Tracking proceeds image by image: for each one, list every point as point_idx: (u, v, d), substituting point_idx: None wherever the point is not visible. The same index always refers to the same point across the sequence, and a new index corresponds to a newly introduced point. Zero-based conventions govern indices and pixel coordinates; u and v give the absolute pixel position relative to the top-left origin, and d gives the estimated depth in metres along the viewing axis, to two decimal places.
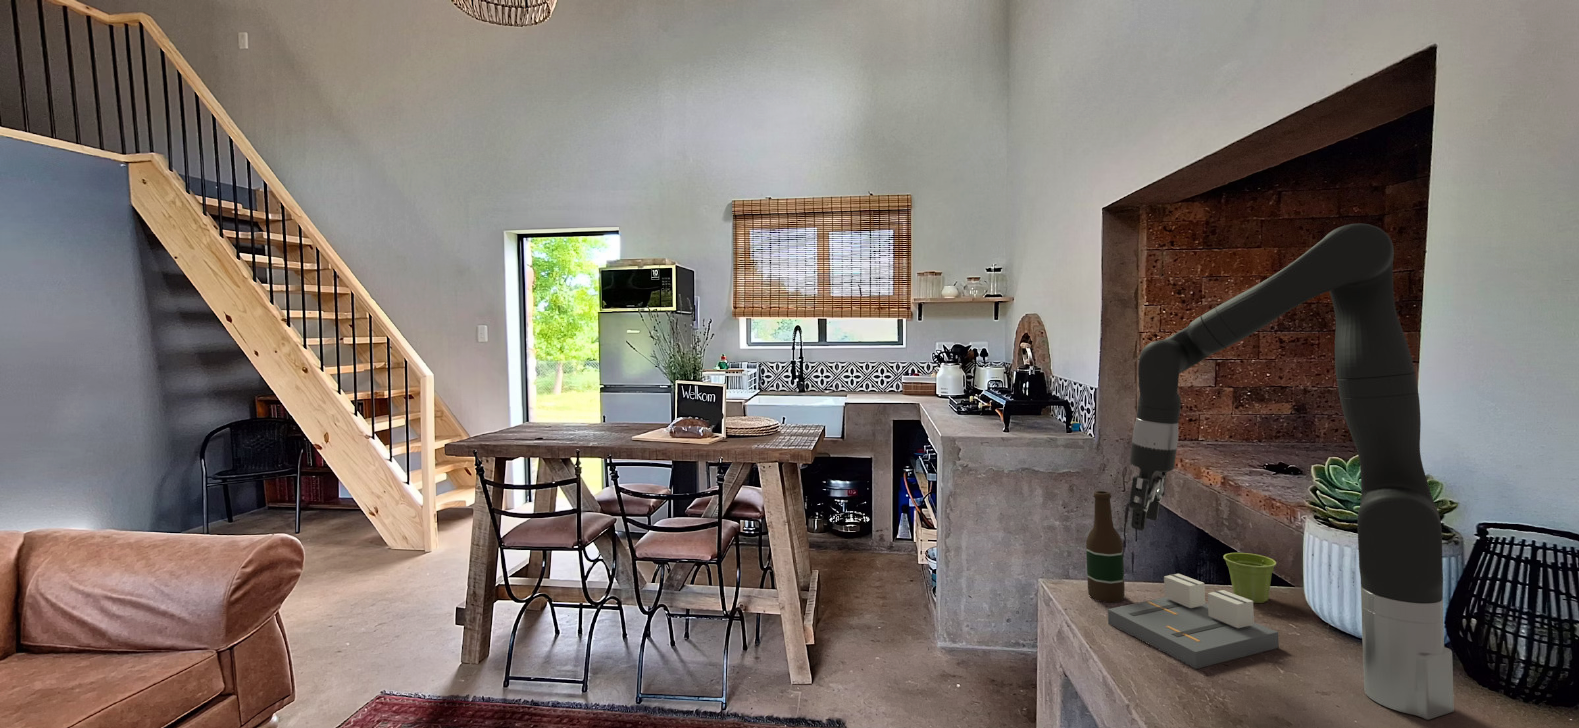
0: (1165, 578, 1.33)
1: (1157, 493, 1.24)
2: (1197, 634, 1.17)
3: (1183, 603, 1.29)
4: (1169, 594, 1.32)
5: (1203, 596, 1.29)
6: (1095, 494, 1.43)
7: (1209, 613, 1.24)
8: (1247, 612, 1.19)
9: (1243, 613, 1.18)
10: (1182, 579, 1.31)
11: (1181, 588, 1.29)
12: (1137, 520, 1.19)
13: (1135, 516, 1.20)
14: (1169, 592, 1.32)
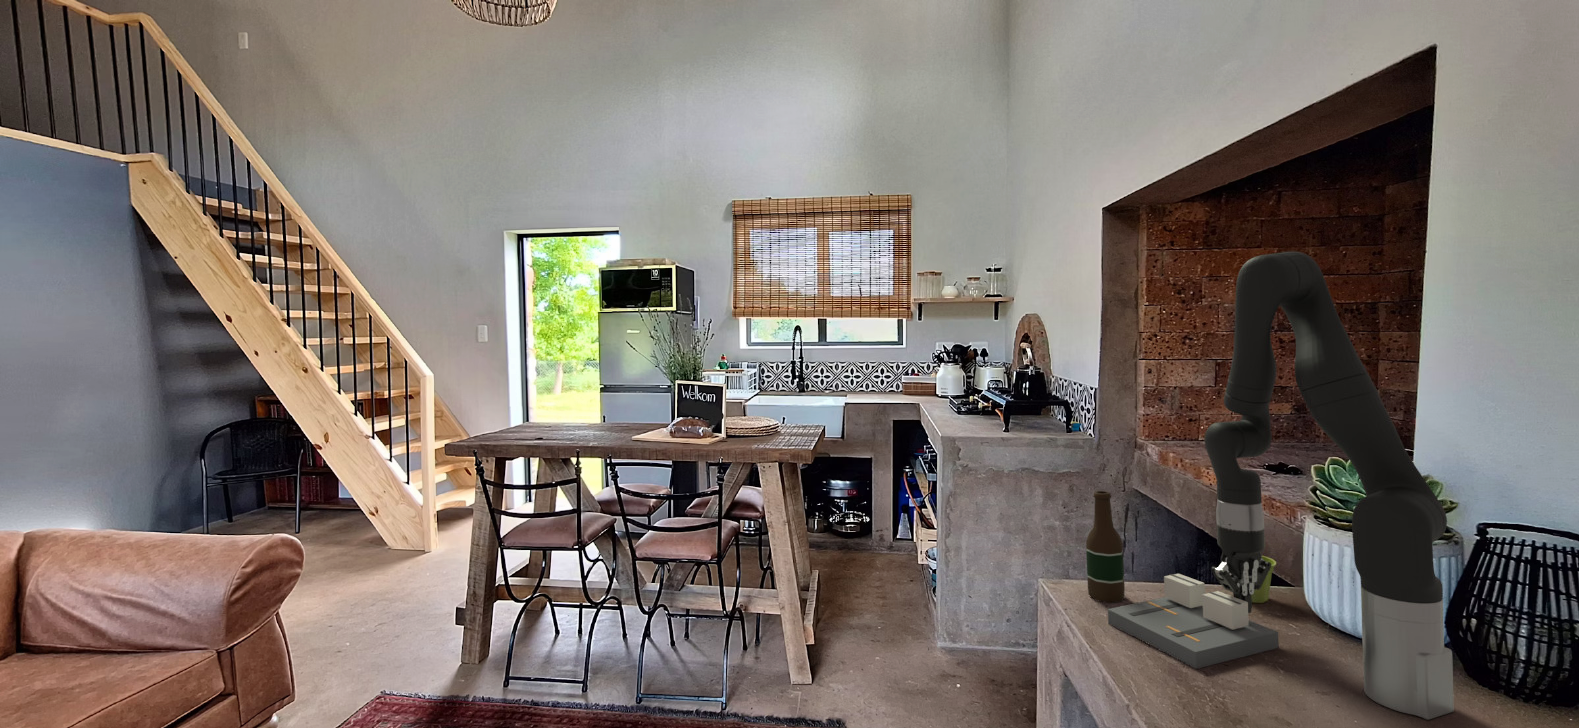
0: (1165, 578, 1.33)
1: None
2: (1197, 634, 1.17)
3: (1183, 603, 1.29)
4: (1169, 594, 1.32)
5: None
6: (1095, 494, 1.43)
7: (1204, 614, 1.23)
8: (1242, 613, 1.18)
9: (1237, 615, 1.18)
10: (1182, 579, 1.31)
11: (1181, 588, 1.29)
12: None
13: None
14: (1169, 592, 1.32)
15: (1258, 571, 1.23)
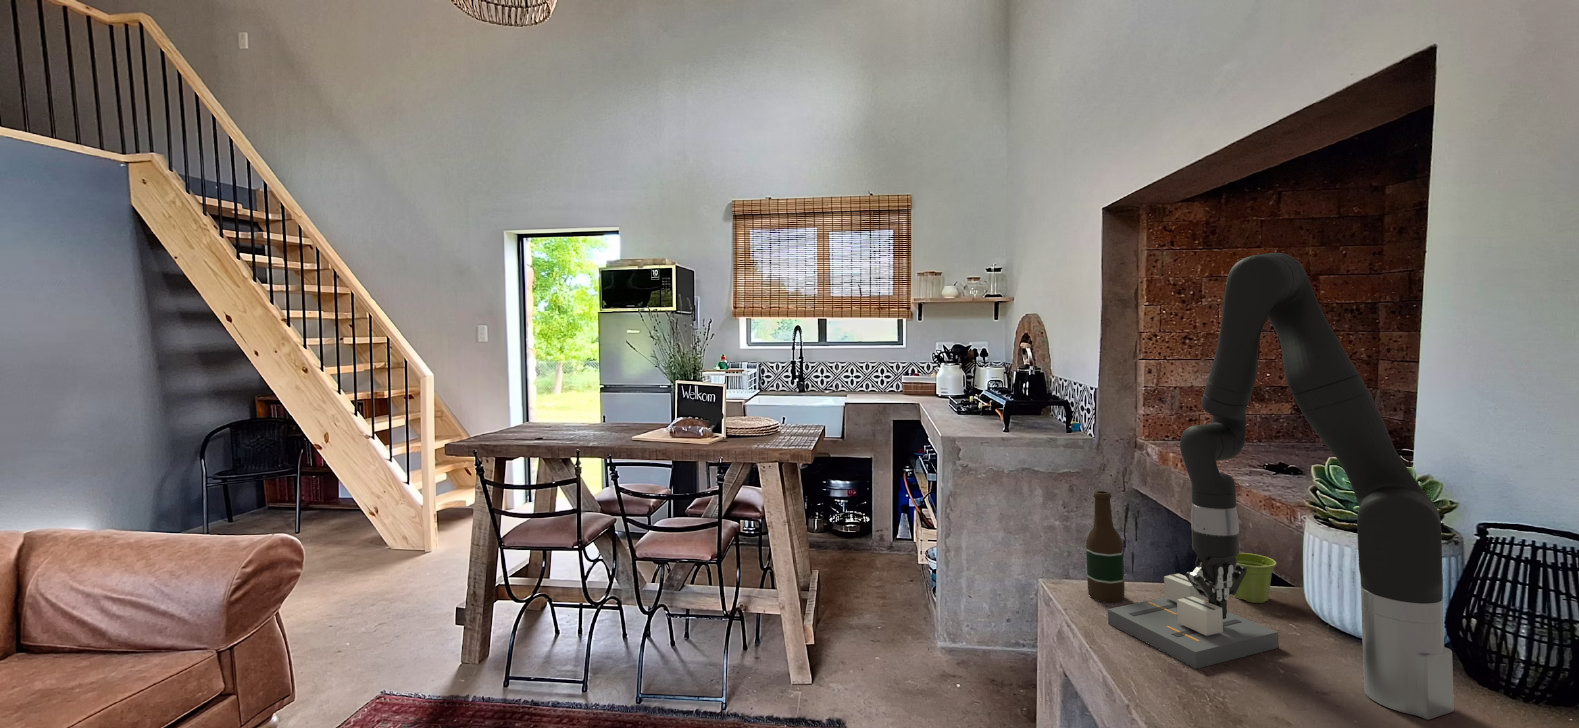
0: (1165, 578, 1.33)
1: (1223, 585, 1.20)
2: (1197, 634, 1.17)
3: None
4: (1169, 594, 1.32)
5: (1203, 596, 1.29)
6: (1095, 494, 1.43)
7: (1178, 620, 1.21)
8: (1216, 619, 1.16)
9: (1211, 620, 1.16)
10: (1182, 579, 1.31)
11: (1181, 588, 1.29)
12: None
13: None
14: (1169, 592, 1.32)
15: (1233, 576, 1.21)
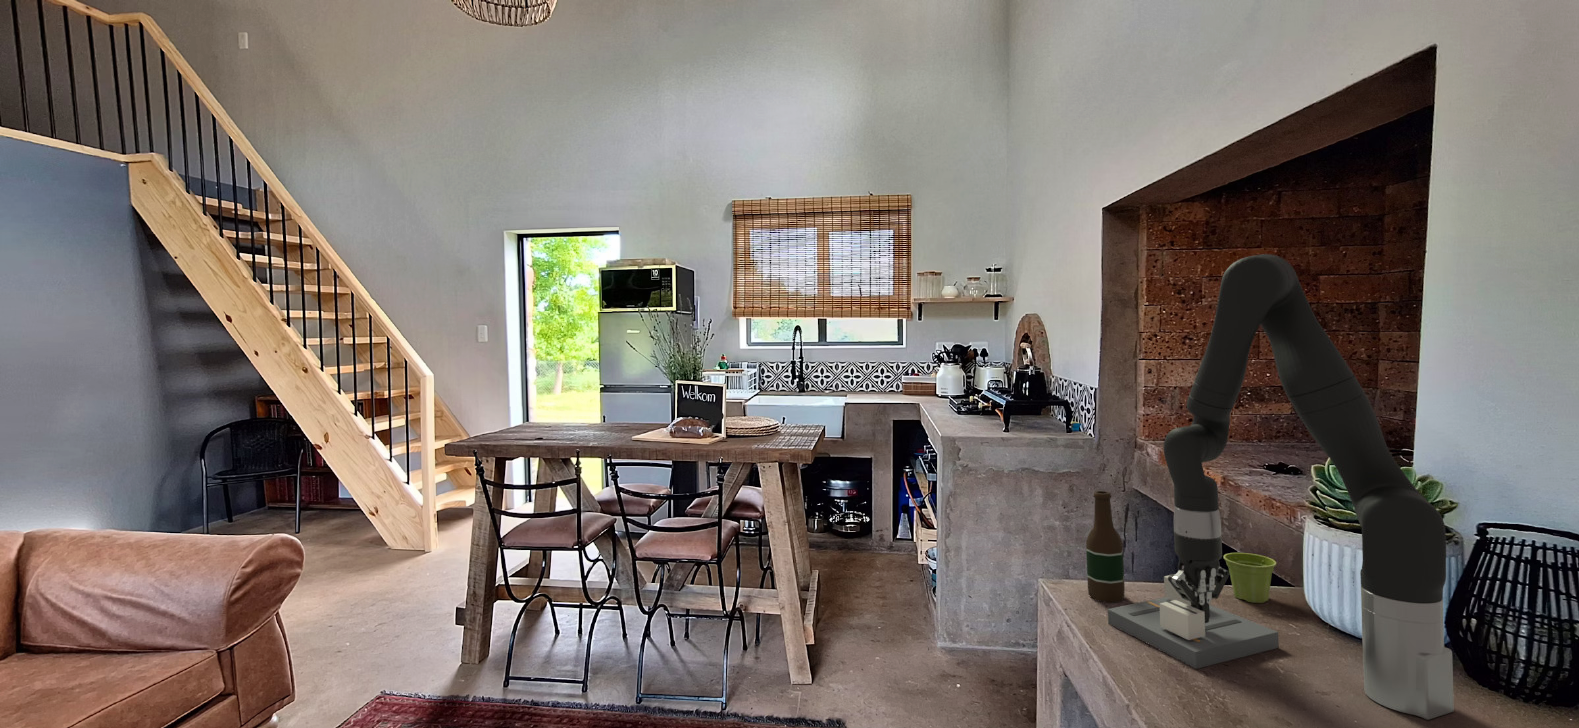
0: (1165, 578, 1.33)
1: None
2: None
3: None
4: (1169, 594, 1.32)
5: None
6: (1095, 494, 1.43)
7: (1161, 624, 1.20)
8: (1198, 623, 1.15)
9: (1193, 625, 1.15)
10: None
11: None
12: None
13: None
14: (1169, 592, 1.32)
15: (1216, 579, 1.20)
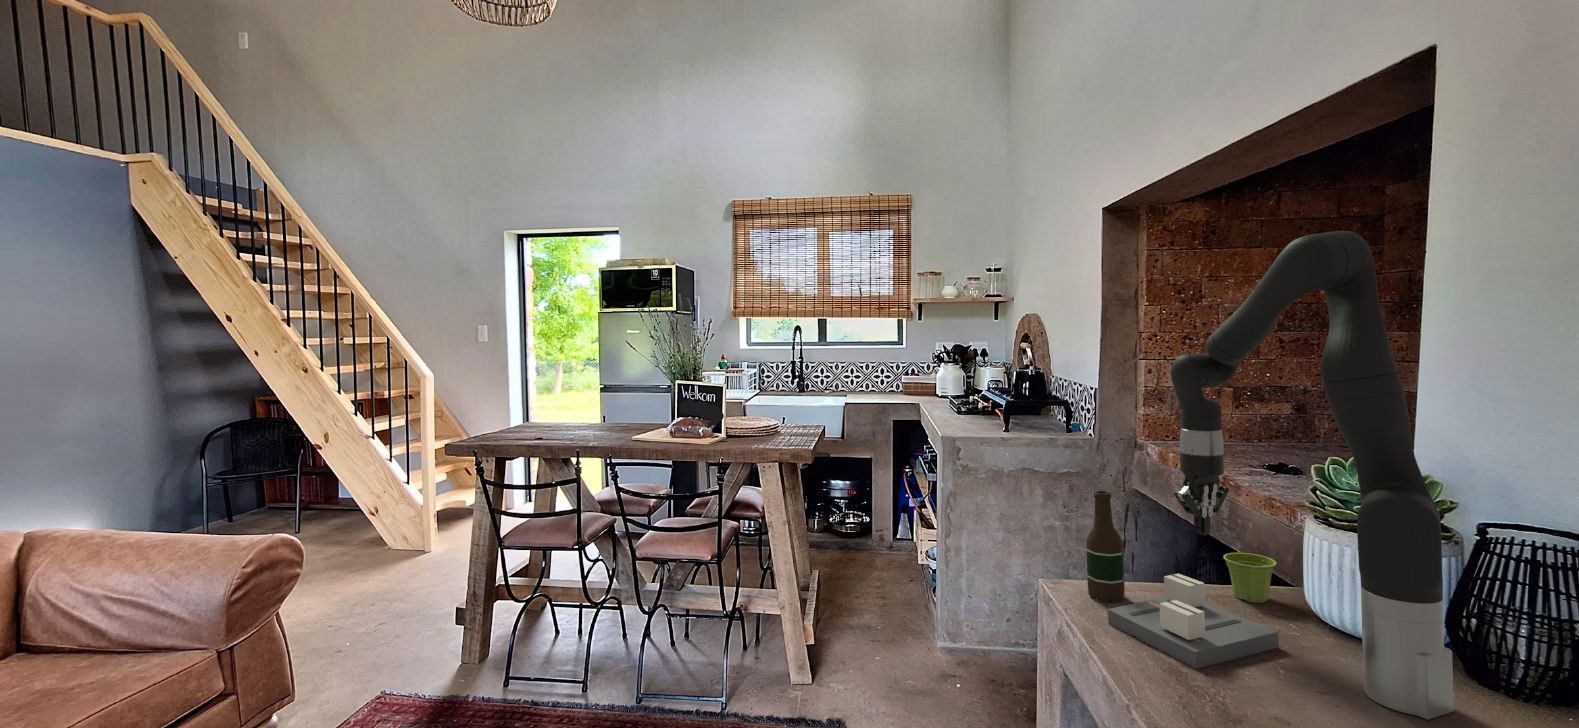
0: (1165, 578, 1.33)
1: None
2: None
3: None
4: (1169, 594, 1.32)
5: (1203, 596, 1.29)
6: (1095, 494, 1.43)
7: (1161, 624, 1.20)
8: (1198, 623, 1.15)
9: (1193, 625, 1.15)
10: (1182, 579, 1.31)
11: (1181, 588, 1.29)
12: (1197, 525, 1.29)
13: (1195, 522, 1.30)
14: (1169, 592, 1.32)
15: (1217, 496, 1.31)
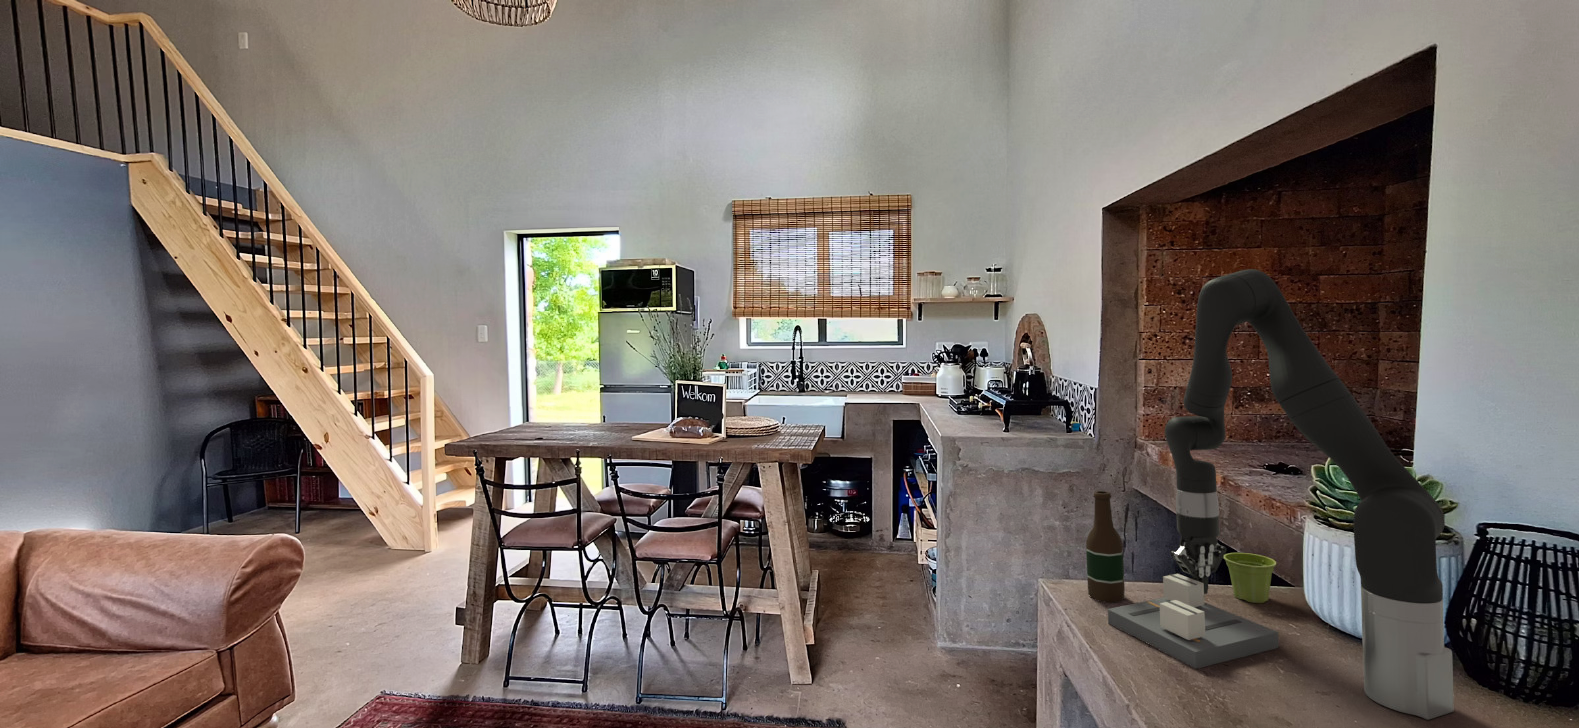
0: (1164, 578, 1.33)
1: None
2: None
3: None
4: (1168, 594, 1.32)
5: (1202, 596, 1.29)
6: (1095, 494, 1.43)
7: (1161, 624, 1.20)
8: (1198, 623, 1.15)
9: (1193, 625, 1.15)
10: (1181, 579, 1.31)
11: (1180, 588, 1.29)
12: None
13: None
14: (1168, 592, 1.32)
15: (1214, 555, 1.33)
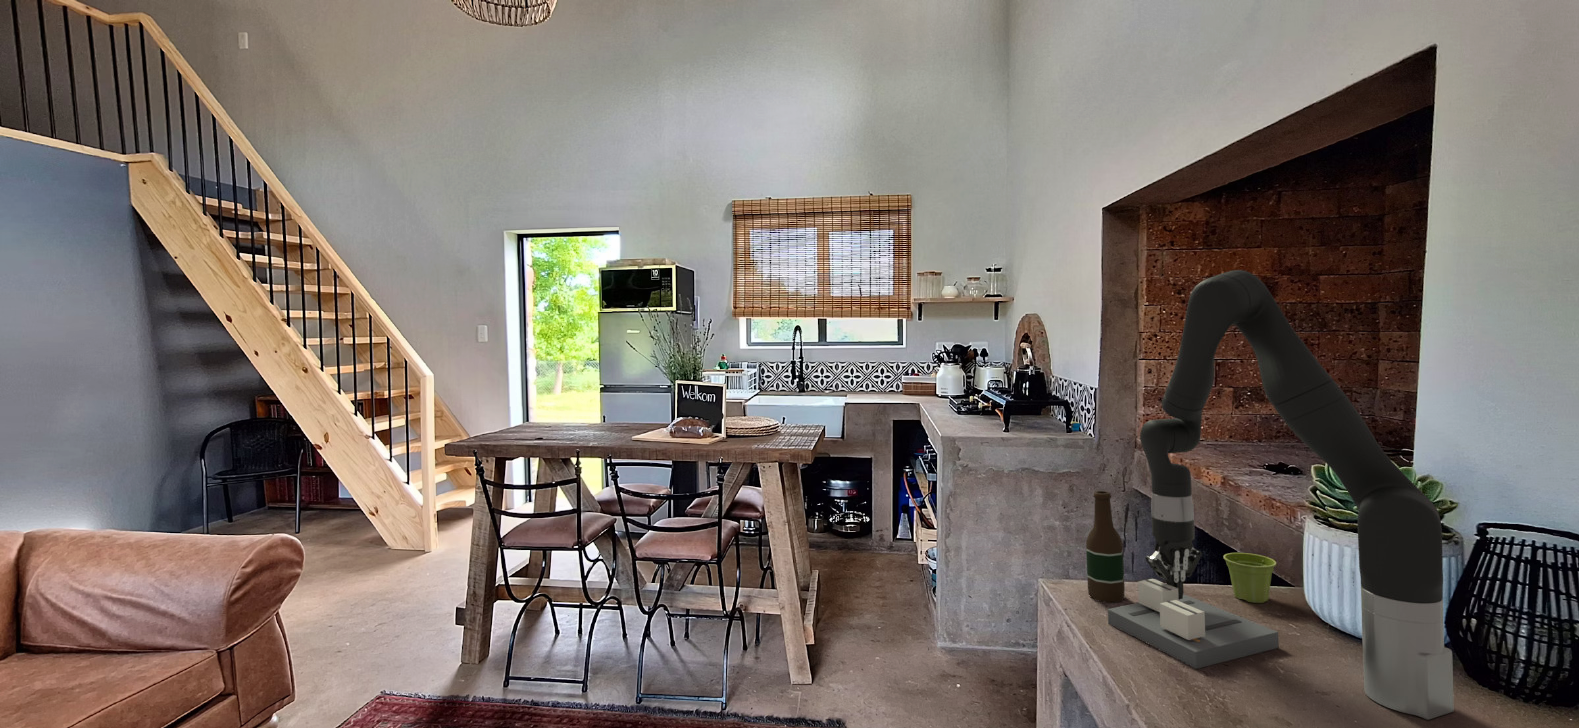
0: (1139, 583, 1.31)
1: None
2: None
3: (1156, 609, 1.27)
4: (1143, 599, 1.30)
5: None
6: (1095, 494, 1.43)
7: (1161, 624, 1.20)
8: (1198, 623, 1.15)
9: (1193, 625, 1.15)
10: (1156, 584, 1.29)
11: (1154, 593, 1.27)
12: None
13: None
14: (1142, 597, 1.30)
15: (1190, 559, 1.31)
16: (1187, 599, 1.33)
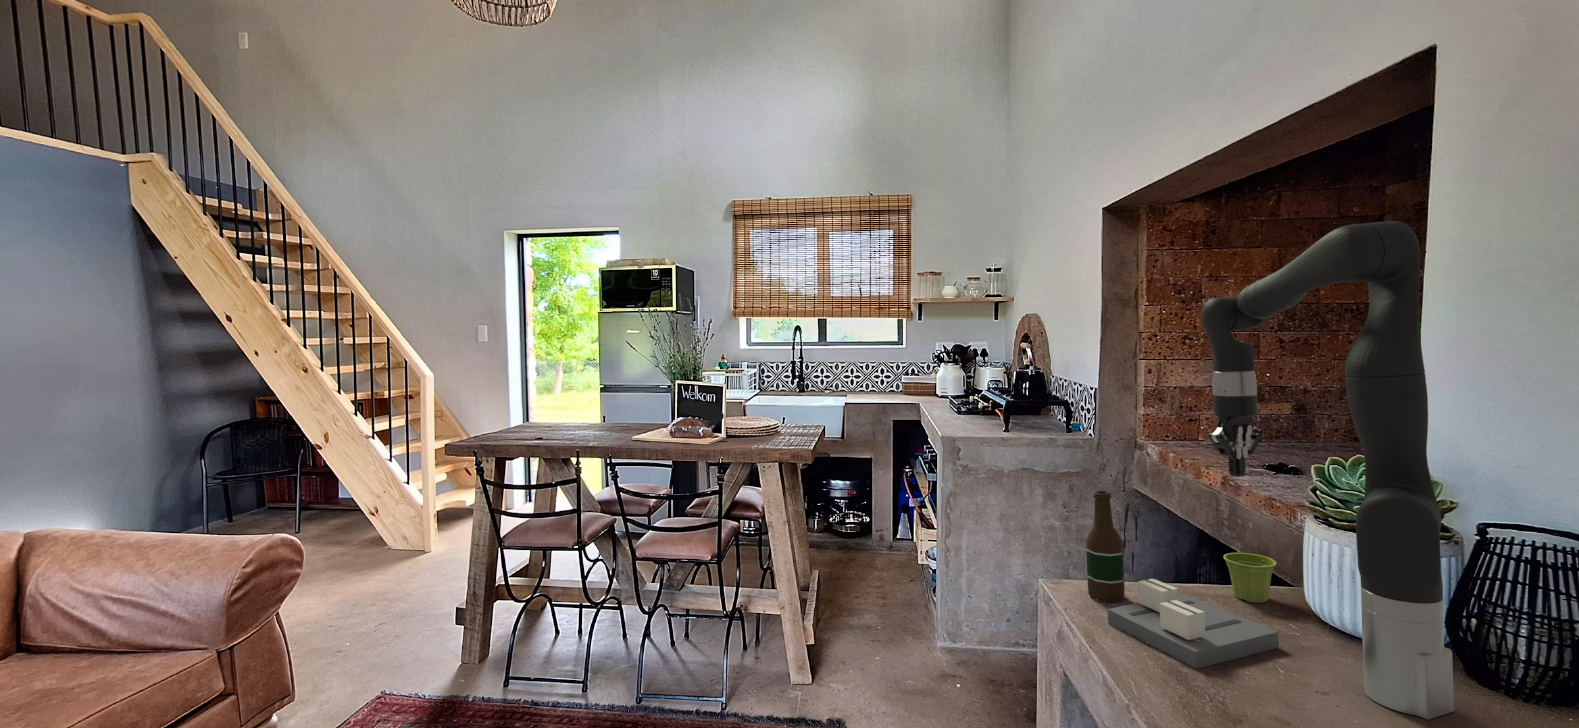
0: (1139, 583, 1.31)
1: None
2: None
3: (1156, 609, 1.27)
4: (1143, 599, 1.30)
5: None
6: (1095, 494, 1.43)
7: (1161, 624, 1.20)
8: (1198, 623, 1.15)
9: (1193, 625, 1.15)
10: (1156, 584, 1.29)
11: (1154, 593, 1.27)
12: (1232, 467, 1.31)
13: (1230, 463, 1.31)
14: (1142, 597, 1.30)
15: (1251, 438, 1.32)
16: (1187, 599, 1.33)
